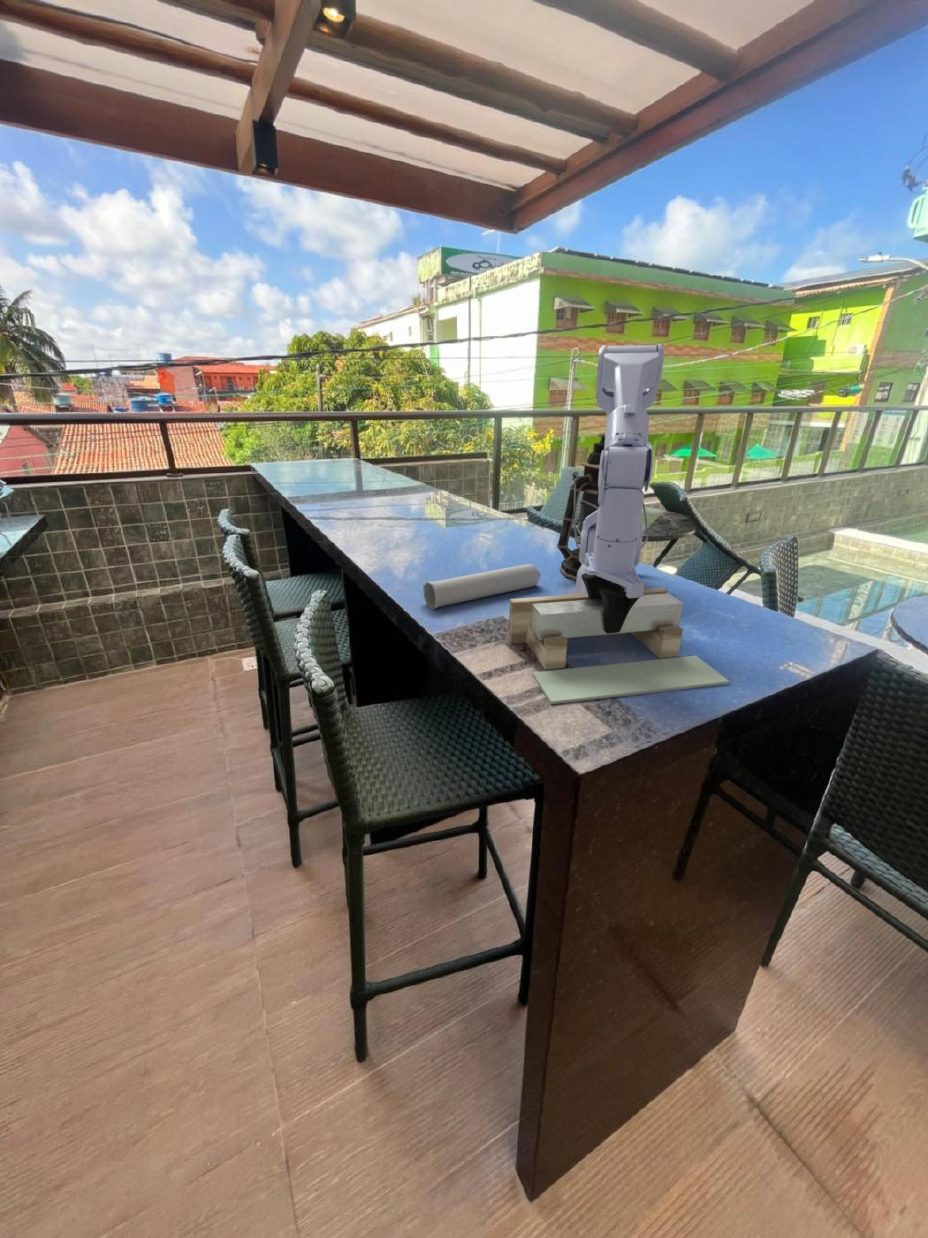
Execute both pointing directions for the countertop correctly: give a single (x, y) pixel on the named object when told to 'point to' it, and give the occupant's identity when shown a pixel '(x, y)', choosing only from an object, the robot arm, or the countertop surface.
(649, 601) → the rail
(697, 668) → the mat
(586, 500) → the lantern
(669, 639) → the rail stand
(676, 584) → the countertop surface
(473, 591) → the tube
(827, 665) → the countertop surface
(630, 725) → the countertop surface
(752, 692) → the countertop surface
